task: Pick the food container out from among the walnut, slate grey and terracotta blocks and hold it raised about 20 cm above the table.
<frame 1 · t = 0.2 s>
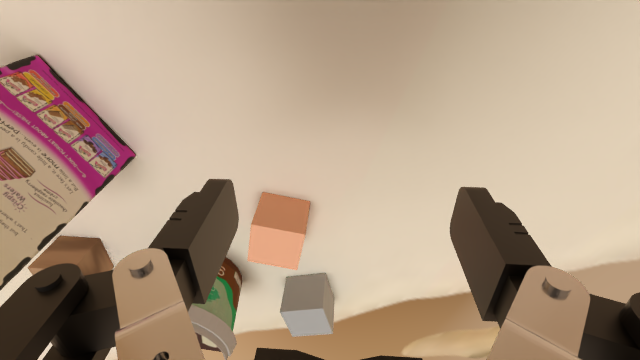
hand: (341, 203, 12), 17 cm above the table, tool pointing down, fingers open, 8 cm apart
candy bar box: (77, 119, 31), on the table
slate grey block: (311, 287, 42), on the table
terracotta block: (283, 214, 36), on the table
food container: (206, 258, 41), on the table
walnut block: (88, 251, 41), on the table
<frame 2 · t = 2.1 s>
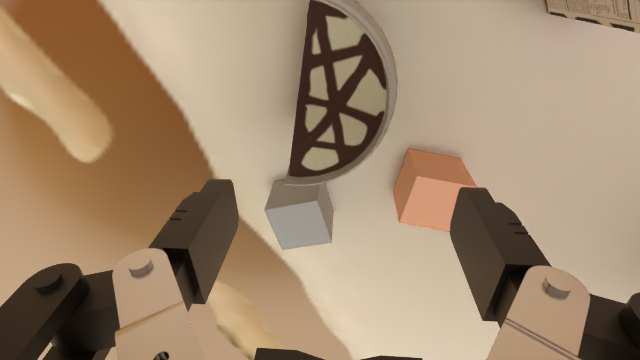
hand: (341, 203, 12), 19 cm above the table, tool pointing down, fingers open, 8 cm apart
slate grey block: (304, 195, 35), on the table
terracotta block: (425, 175, 32), on the table
food container: (347, 70, 28), on the table
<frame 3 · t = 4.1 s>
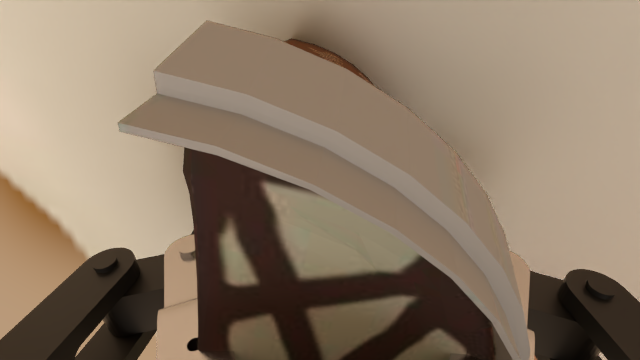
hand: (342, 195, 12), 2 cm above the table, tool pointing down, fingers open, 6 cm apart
food container: (351, 164, 14), on the table, touching gripper
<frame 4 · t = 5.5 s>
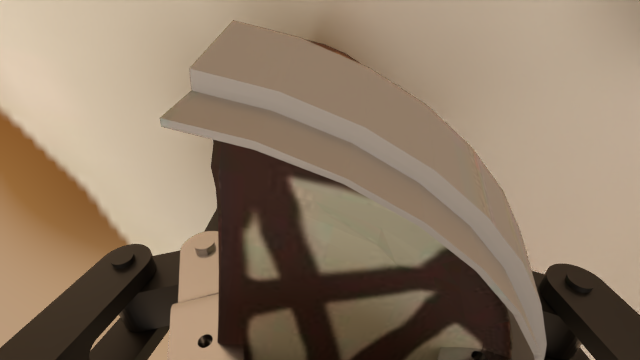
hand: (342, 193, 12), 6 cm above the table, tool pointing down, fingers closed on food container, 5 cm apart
food container: (359, 163, 14), point 3 cm above the table, touching gripper
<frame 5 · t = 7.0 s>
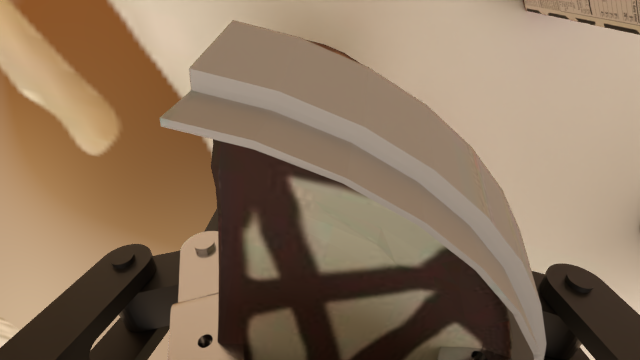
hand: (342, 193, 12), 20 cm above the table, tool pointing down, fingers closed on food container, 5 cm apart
food container: (359, 163, 14), point 18 cm above the table, touching gripper
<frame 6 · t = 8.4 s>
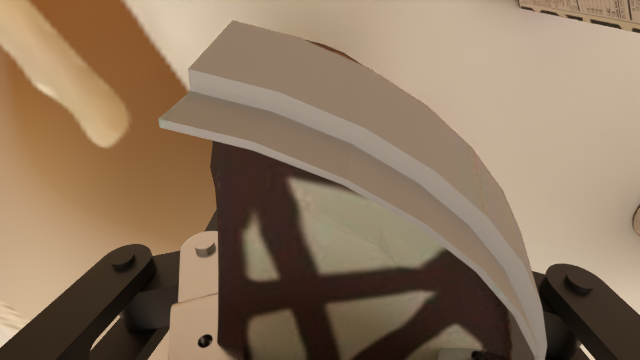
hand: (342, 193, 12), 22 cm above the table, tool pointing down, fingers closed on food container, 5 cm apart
food container: (359, 163, 14), point 19 cm above the table, touching gripper
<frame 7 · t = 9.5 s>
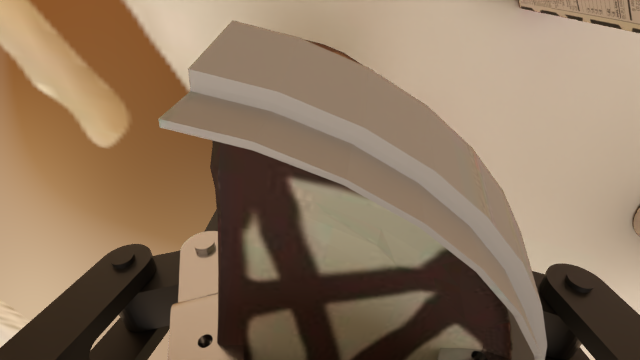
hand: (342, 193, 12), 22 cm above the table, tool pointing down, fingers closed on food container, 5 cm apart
food container: (359, 163, 14), point 19 cm above the table, touching gripper
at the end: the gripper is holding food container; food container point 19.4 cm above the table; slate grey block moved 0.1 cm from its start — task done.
